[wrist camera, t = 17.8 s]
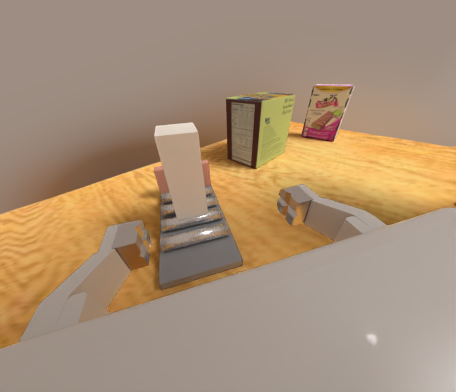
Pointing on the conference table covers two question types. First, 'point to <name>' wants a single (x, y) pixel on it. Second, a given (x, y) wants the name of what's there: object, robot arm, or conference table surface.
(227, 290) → the robot arm
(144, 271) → the conference table surface
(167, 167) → the wooden block
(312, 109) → the candy bar box
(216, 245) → the roller track
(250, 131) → the protein box
